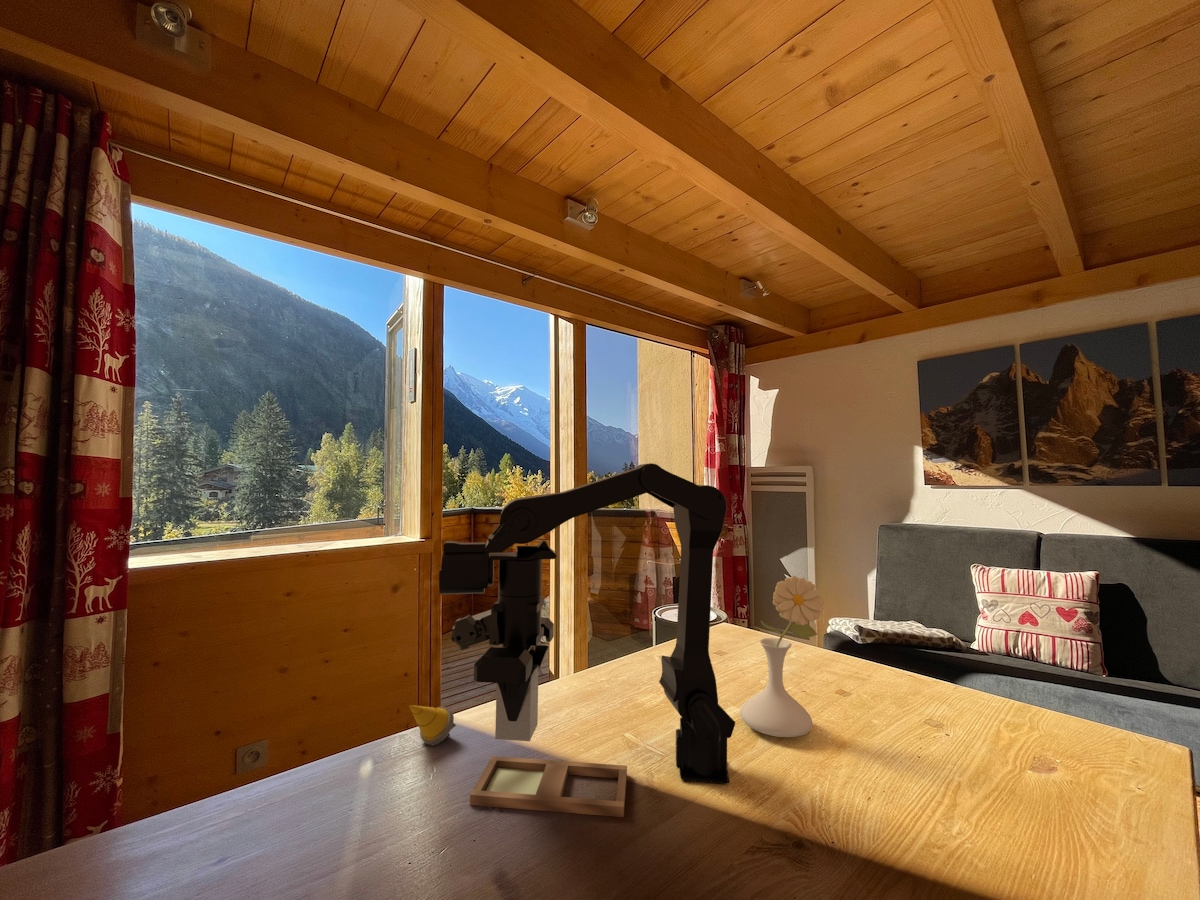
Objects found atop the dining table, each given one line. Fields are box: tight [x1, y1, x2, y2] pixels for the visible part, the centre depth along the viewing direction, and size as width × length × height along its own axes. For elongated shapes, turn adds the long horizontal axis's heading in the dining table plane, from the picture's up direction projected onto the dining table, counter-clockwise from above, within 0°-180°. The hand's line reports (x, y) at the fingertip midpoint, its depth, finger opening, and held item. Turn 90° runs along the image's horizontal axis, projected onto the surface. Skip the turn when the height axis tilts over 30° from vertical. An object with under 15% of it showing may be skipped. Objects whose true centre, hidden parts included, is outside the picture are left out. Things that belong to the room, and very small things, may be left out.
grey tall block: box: [494, 664, 540, 742], centre depth 69 cm, size 4×4×9 cm
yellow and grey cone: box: [408, 704, 457, 746], centre depth 79 cm, size 5×5×10 cm
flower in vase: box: [739, 575, 824, 738], centre depth 86 cm, size 13×11×25 cm
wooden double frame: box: [469, 755, 628, 818], centre depth 68 cm, size 19×9×1 cm, turn 85°
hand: (517, 712), depth 69 cm, fingers closed on grey tall block, 4 cm apart
